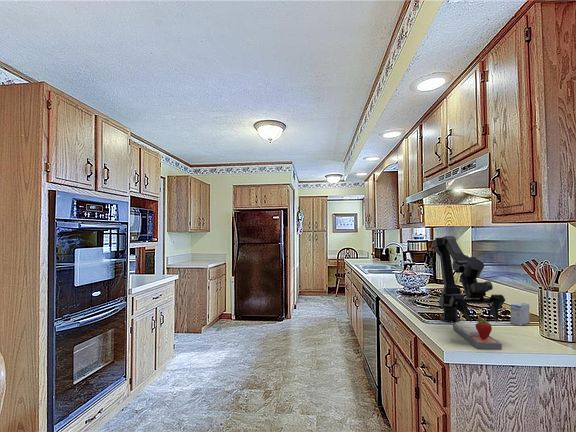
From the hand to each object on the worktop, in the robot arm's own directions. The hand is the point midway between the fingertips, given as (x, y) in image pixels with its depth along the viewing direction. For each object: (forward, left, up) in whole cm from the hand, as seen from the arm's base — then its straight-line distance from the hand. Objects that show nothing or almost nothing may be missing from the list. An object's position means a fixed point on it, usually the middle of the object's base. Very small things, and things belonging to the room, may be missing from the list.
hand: (484, 321), depth 130 cm
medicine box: (-41, +2, -9) cm, 42 cm away
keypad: (-6, -5, -9) cm, 12 cm away
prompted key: (0, 0, -9) cm, 9 cm away
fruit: (-1, 0, -7) cm, 7 cm away
